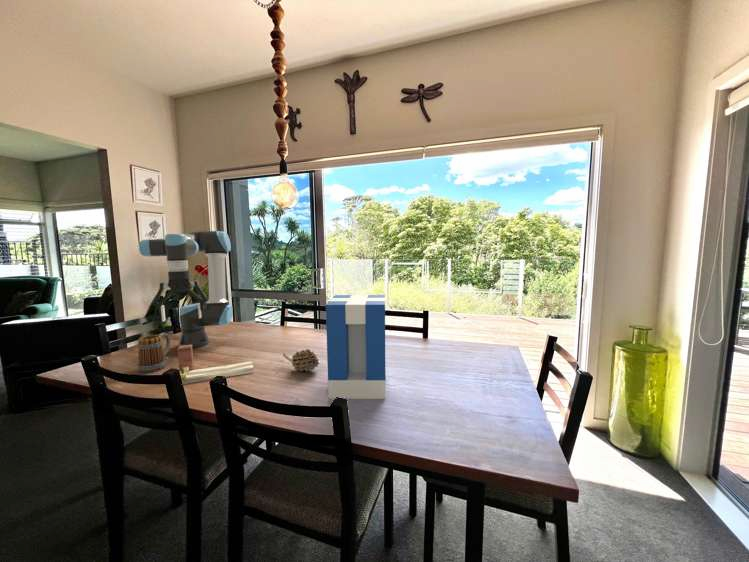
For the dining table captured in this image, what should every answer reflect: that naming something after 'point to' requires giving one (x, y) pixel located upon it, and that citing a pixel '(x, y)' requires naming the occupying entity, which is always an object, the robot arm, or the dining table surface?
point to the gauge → (185, 360)
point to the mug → (153, 353)
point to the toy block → (356, 346)
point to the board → (218, 372)
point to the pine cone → (303, 360)
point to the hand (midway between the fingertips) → (182, 319)
